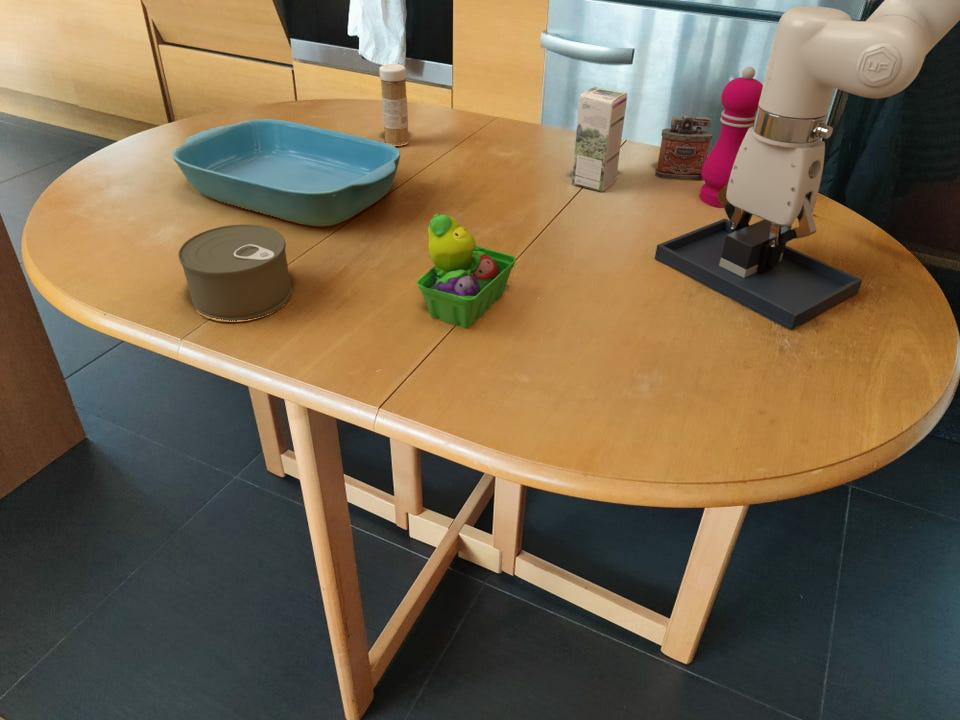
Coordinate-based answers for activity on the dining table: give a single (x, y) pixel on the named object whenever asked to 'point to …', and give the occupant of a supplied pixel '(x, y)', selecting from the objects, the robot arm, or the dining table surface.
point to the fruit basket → (461, 274)
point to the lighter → (684, 149)
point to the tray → (761, 277)
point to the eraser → (746, 248)
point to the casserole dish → (289, 169)
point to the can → (236, 271)
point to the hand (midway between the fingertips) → (750, 261)
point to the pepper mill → (730, 133)
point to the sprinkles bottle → (394, 103)
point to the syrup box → (598, 138)
